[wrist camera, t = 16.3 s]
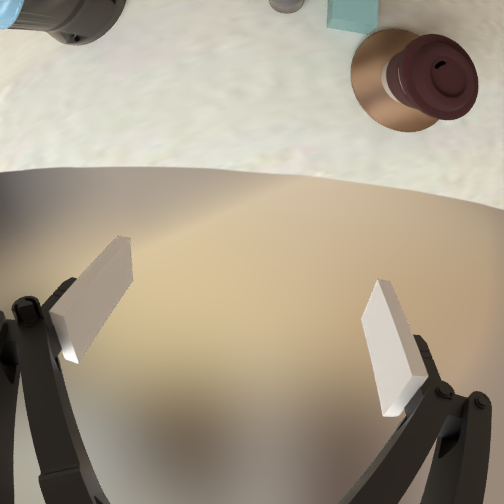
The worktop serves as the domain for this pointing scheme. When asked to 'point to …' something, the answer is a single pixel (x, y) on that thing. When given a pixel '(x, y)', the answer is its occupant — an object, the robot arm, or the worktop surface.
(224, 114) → the worktop surface
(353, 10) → the teal block
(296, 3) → the gray cylinder
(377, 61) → the walnut board
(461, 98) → the coffee cup
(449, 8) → the worktop surface
